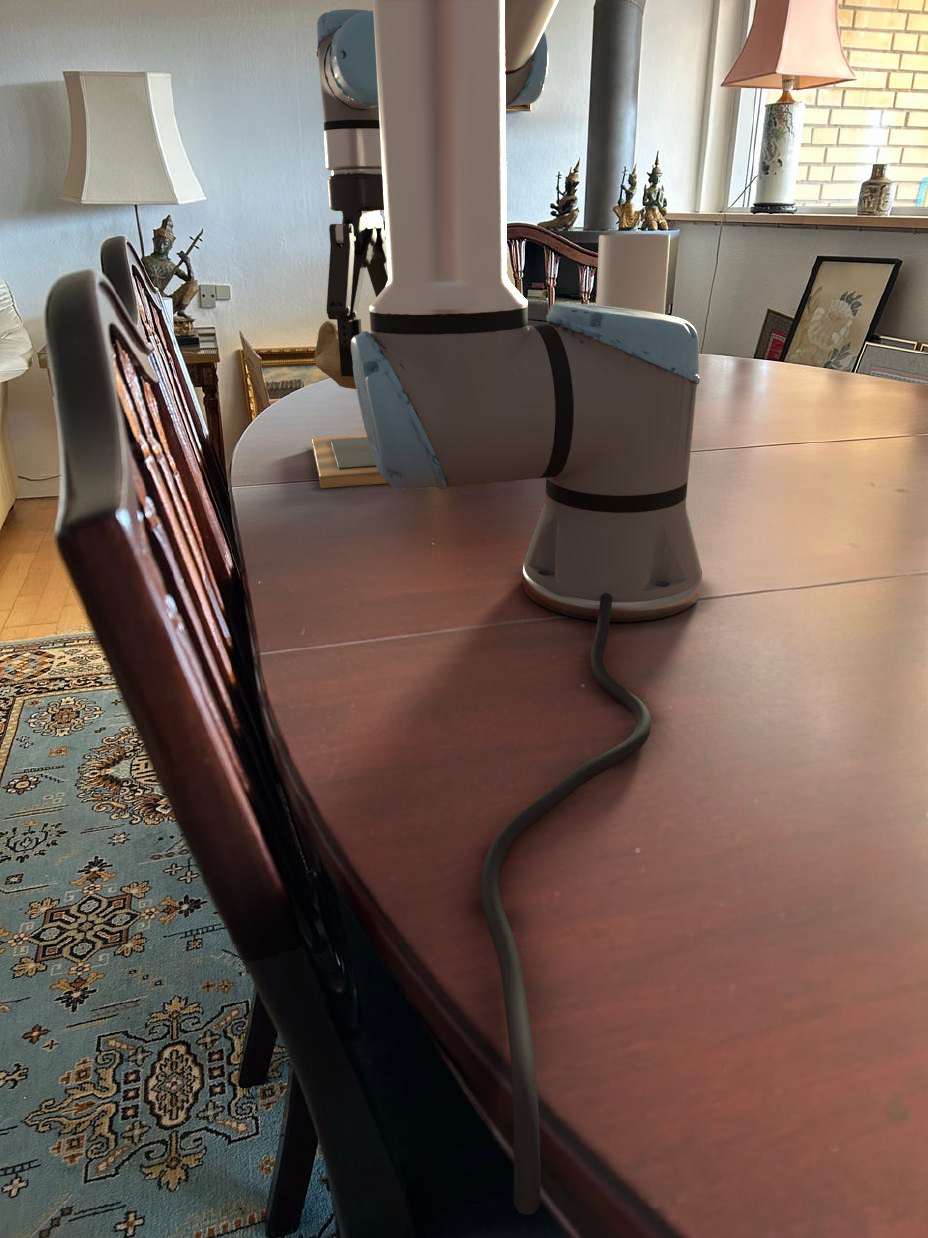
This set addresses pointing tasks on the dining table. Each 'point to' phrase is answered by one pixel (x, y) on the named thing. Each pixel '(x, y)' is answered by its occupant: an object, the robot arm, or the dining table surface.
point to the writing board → (345, 461)
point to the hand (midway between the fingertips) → (371, 367)
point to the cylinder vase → (633, 271)
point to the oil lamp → (331, 355)
